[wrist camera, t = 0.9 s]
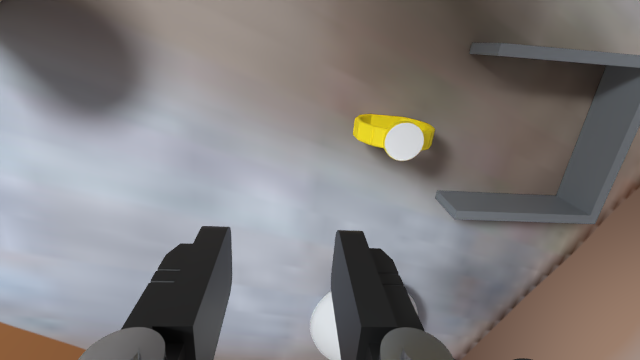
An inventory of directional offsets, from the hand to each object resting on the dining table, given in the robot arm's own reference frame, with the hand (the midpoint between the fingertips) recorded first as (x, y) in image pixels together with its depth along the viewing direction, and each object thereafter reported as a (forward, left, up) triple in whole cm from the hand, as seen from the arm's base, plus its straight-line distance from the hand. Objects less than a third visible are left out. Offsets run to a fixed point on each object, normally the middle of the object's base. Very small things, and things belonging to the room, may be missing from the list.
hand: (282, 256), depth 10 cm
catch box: (0, +20, -19) cm, 28 cm away
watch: (0, +8, -19) cm, 21 cm away
